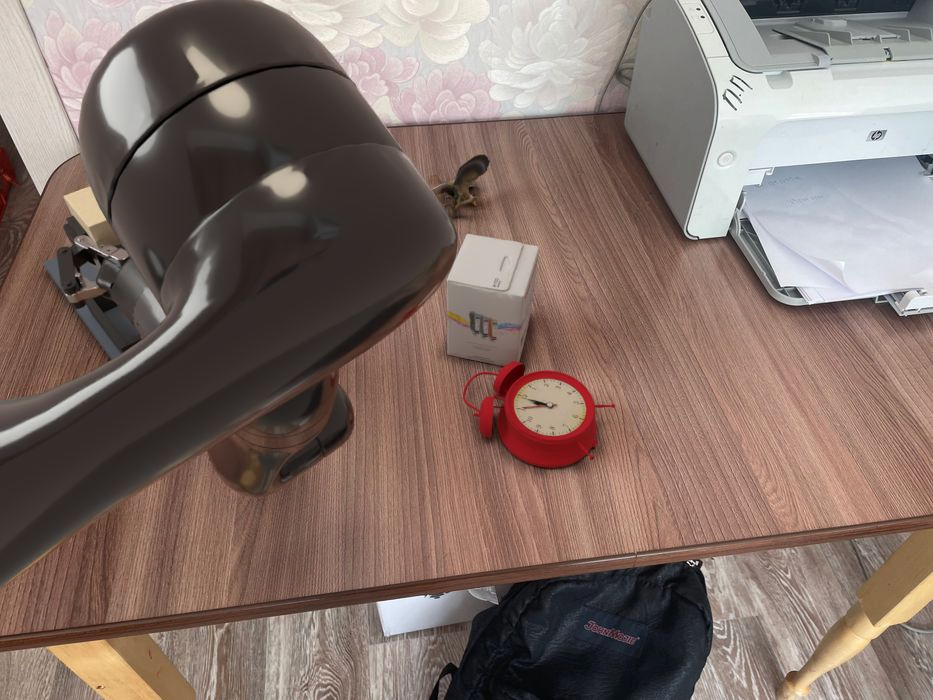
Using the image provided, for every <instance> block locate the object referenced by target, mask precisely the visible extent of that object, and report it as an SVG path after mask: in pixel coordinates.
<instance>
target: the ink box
mask: <svg viewBox="0 0 933 700" xmlns="http://www.w3.org/2000/svg"><path fill="white" fill-rule="evenodd" d="M539 251H540V246H539V245H533V244H526V243H522V242H520V241H515V240H510V239H509V240H508V239H500V238H496V237H492V236H491V237H490V236H484V235H479V234H472V233H467V234H466V235H465V237H464V239H463V242H462V244H461V245H460V249H459V251H458V252H457V255H456V259H455V262H454V264H453V266H452V269H451V271H450V273H449V274H448V276H447V278H446V309H447V310H446V311H447V312H446V313H447V315H446V326H447V327H446V328H447V329H446V330H447V335H446V336H447V341H446V342H447V343H446V345H447V347H446V350H447V355H448V356H452V357H457V358H460V359H464V360H465V359H466V360H471V361H476V362H479V363H480V362H481V363H486V364H490V365H495V366H501V367H504V366H505V365H507V364H508V363H510V362H513V361H518V362H520V360H521V356H522V353H523V349H524V345H525V341H526V338H527V333H528V330H529V327H530V322H531V317H532V309H533V302H534V293H535V283H536V276H537V269H538V268H537V267H538V260H539Z"/></svg>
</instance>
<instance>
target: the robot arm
mask: <svg viewBox="0 0 933 700" xmlns="http://www.w3.org/2000/svg"><path fill="white" fill-rule="evenodd" d="M78 118H79V119H78V126H77V131H78V133H77V134H78V142H79V152H80V153H79V154H80V160H81V164H82V167H83V169H84V173H85V177H86V180H87V181H88V185H89V186H90V187H91V189H92V192H93V194H94V197H95V199H96V201H97V203H98V205H99V208H100V209H101V211H102V213H103V215H104V216H105V218H106V220H107V221H108V223H109V225H110V226H111V228H112V230H113V231H114V233H115V234H116V236H117V237H118V238H119V240H120V241H121V243H122V244H120V245H117V246H112V245H110V244H109V243H107V242H105V241H103V240H98V241H97V242H94V240H93V239H92V238H90V237H89V236H88V234H87V232H86V231H85V230H84V228H83V227H82V226H81V225H80V223H79V222H78V221H77V220H76V218H75V217H74V216H72V215H70V216H68V217H66V218H65V221H66V223H65V224H63V227H62V228H63V231H64V233H65V235H66V237H67V238H68V240H69V242H70V244H71V246H61V247H59V248H58V249H57V250H56V251H55V252H56V253H55V254H56V257H57V260H58V268H59V276H60V283H61V287H62V289H63V291H64V293H65V295H66V297H67V298H66V297H65V298H66V300H67V301H68V300H69V301H68V302H69V304H70V307H71V308H72V309H74V310H75V309H80V308H83V307H84V306H85V305H86V303H87V302H86V299H88V298H92V297H96V296H99V295H102V296H103V297H105V298H107V299H110V300H113V301H114V302H115V303H116V304H117V305H118V306H119V308H120V309H121V310H122V311H123V313H124V314H125V315H126V317H127V318H128V319H129V321H130V322H131V323H132V324H133V326H134V327H135V328H136V330H137V331H138V332H139V334H140V336H141V339H142V340H140V341H139V342H138V343H137V344H135V345H134V346H132V347H131V348H129V349H128V350H126V351H124V352H123V353H121V354H120V355H118V356H117V357H115V358H114V359H112V360H111V359H110V360H108V361H107V362H105V363H102V364H101V365H99V366H98V367H96V368H93V369H92V370H90V371H88V372H87V373H85V374H82V375H80V376H77V377H75V378H74V379H71V380H69V381H66V382H63V383H61V384H59V385H57V386H54V387H52V388H50V389H46V390H45V391H42V392H39V393H34V394H30V395H24V396H19V397H12V398H5V399H0V591H1V590H2V589H3V588H5V587H6V586H8V585H9V584H11V583H12V582H13V581H14V580H16V579H18V578H19V577H20V576H22V575H23V574H24V573H26V572H27V571H28V570H29V569H31V568H32V567H33V566H35V565H37V564H38V563H39V562H41V561H42V560H44V559H45V558H46V557H48V556H49V555H50V554H51V553H53V552H55V550H57V549H58V548H60V547H61V546H62V545H64V544H65V543H67V542H69V541H70V540H71V539H73V538H74V537H75V536H77V535H78V534H80V533H81V532H82V531H84V530H86V529H87V528H88V527H90V526H91V525H92V524H94V523H96V522H97V521H98V520H100V519H101V518H103V517H104V516H106V515H107V514H109V513H110V512H112V511H113V510H115V509H117V508H118V507H119V506H121V505H123V504H125V503H126V502H127V501H129V500H130V499H132V498H133V497H135V496H137V495H139V494H140V493H141V492H144V491H145V490H147V489H148V488H149V487H151V486H153V485H154V484H156V483H158V482H159V481H161V480H162V479H165V478H166V477H167V476H169V475H170V474H172V473H174V472H176V471H177V470H179V469H181V468H182V467H183V466H185V465H187V464H188V463H190V462H192V461H193V460H195V459H197V458H198V457H200V456H201V455H203V454H204V453H206V452H207V456H208V459H209V462H210V464H211V466H212V468H213V470H214V471H215V473H216V474H217V476H218V478H219V479H220V480H221V481H222V482H223V483H224V484H225V485H226V486H227V487H228V488H229V489H231V490H232V491H233V492H235V493H237V494H239V495H240V496H243V497H247V498H251V499H260V498H261V499H262V498H265V497H269V496H272V495H274V494H276V493H277V492H279V491H281V490H282V489H284V488H286V487H287V486H288V485H289V484H291V483H292V482H294V480H296V479H298V478H299V477H300V476H301V475H303V474H304V473H306V472H307V471H309V470H311V469H312V468H313V467H315V466H316V465H317V464H319V463H320V462H322V461H323V460H324V459H326V458H327V457H328V456H330V455H332V454H333V453H334V452H336V451H337V450H338V449H340V448H341V447H342V446H344V444H345V443H347V441H348V440H349V439H350V437H351V436H352V435H353V431H354V428H355V411H354V407H353V404H352V401H351V399H350V396H349V395H348V394H347V392H346V391H345V389H344V388H343V386H342V385H340V383H339V381H340V369H342V368H343V367H344V366H346V365H348V364H350V362H352V361H353V360H355V359H357V358H359V357H360V356H362V355H363V354H365V353H366V352H367V351H369V350H370V349H372V348H373V347H374V346H376V345H377V344H379V343H380V342H381V341H383V340H384V339H385V338H387V337H389V336H390V335H391V334H392V333H393V332H395V331H396V330H397V329H399V328H400V327H401V326H402V325H403V324H405V322H407V321H408V320H410V318H411V317H412V316H414V314H416V313H417V312H418V311H419V310H420V309H421V308H422V307H423V306H424V305H425V304H426V303H427V302H428V301H429V300H430V299H431V298H432V297H433V296H434V295H435V294H436V292H437V291H438V289H439V288H440V287H441V286H442V284H443V283H444V281H445V280H446V279H447V278H448V276H449V274H450V271H451V269H452V267H453V264H454V262H455V260H456V258H457V255H458V252H459V251H458V250H459V236H458V232H457V228H456V225H455V223H454V222H453V220H452V218H451V215H450V213H448V211H447V209H446V207H445V206H444V204H443V203H442V202H441V200H440V199H439V197H438V195H435V193H434V192H433V190H432V189H433V188H431V186H430V185H429V184H428V182H427V181H426V179H425V178H424V176H423V175H422V174H421V172H420V171H419V170H418V168H417V167H416V166H415V164H414V163H413V161H412V160H411V157H410V156H408V154H407V153H406V152H405V150H404V149H403V148H402V146H401V145H400V143H399V142H398V141H397V140H396V138H395V137H394V136H393V134H392V133H391V131H390V130H389V129H388V127H387V126H386V125H385V123H384V122H383V121H382V119H381V118H380V117H379V115H378V114H377V112H376V110H374V109H373V106H372V105H371V104H370V103H369V101H368V100H367V98H366V97H365V96H364V94H362V92H361V91H360V90H359V88H358V86H357V84H356V83H355V81H354V80H353V79H352V78H351V77H350V76H349V74H348V73H347V71H346V70H345V69H344V68H343V66H342V64H341V63H340V62H339V61H338V60H337V58H336V57H335V56H334V55H333V54H332V53H331V52H330V50H329V49H328V48H327V47H326V46H325V45H324V43H322V42H321V41H320V40H319V39H318V38H317V37H316V36H315V35H314V34H313V33H312V32H311V31H310V30H309V29H307V28H306V27H305V26H304V25H302V24H301V23H300V22H298V20H296V19H295V18H293V17H292V16H291V15H290V14H288V13H286V12H285V11H282V10H280V9H278V8H276V7H274V6H272V5H270V4H268V3H265V2H264V1H261V0H190V1H186V2H181V3H178V4H175V5H171V6H170V7H167V8H165V9H162V10H160V11H159V12H156V13H154V14H152V15H151V16H149V17H148V18H146V19H145V20H143V21H141V22H139V23H138V24H136V25H135V26H134V27H132V28H129V30H128V31H127V32H126V33H125V34H124V35H123V36H122V37H120V38H119V40H117V41H116V42H115V43H114V44H113V45H112V46H111V47H110V48H109V49H108V50H107V51H106V53H105V55H104V56H103V57H102V58H101V60H100V61H99V63H98V64H97V66H96V67H95V69H94V70H93V72H92V73H91V76H90V79H89V82H88V84H87V86H86V89H85V91H84V93H83V96H82V99H81V106H80V112H79V117H78ZM85 263H86V264H88V265H90V266H92V267H94V268H96V269H97V270H98V271H99V273H98V275H97V278H96V281H89V280H88V278H87V277H85V276H82V271H81V268H80V267H81V266H82V265H84V264H85ZM65 295H64V296H65Z"/></svg>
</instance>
